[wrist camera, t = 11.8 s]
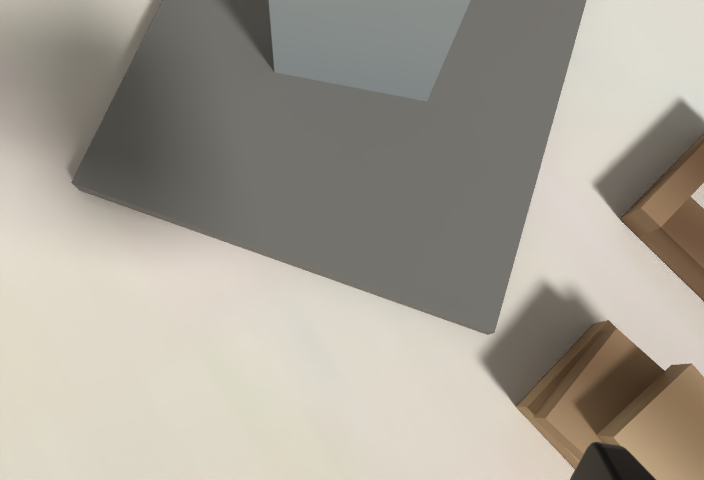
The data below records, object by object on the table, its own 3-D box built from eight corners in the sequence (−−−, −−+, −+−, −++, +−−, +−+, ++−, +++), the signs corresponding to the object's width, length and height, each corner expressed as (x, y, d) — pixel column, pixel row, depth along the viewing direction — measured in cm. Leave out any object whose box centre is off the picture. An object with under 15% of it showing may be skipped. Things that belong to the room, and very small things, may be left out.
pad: (79, 189, 22) (71, 182, 22) (239, -136, 27) (238, -151, 26) (487, 334, 22) (494, 332, 22) (585, -14, 26) (593, -26, 26)
